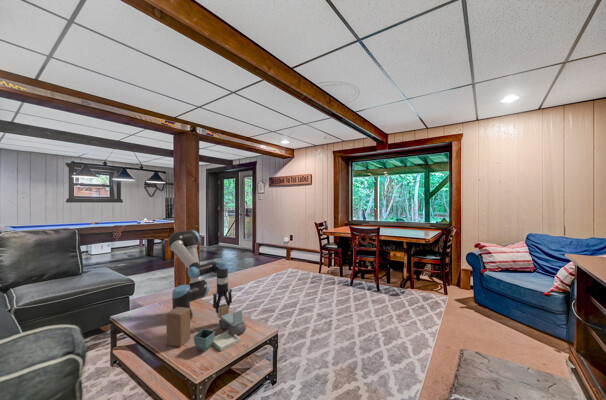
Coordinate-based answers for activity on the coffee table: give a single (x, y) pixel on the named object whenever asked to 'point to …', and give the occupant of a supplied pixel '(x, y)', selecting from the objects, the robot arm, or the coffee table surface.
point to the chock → (223, 309)
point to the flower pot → (204, 339)
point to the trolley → (233, 323)
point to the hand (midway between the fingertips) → (222, 315)
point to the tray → (225, 341)
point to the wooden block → (178, 326)
